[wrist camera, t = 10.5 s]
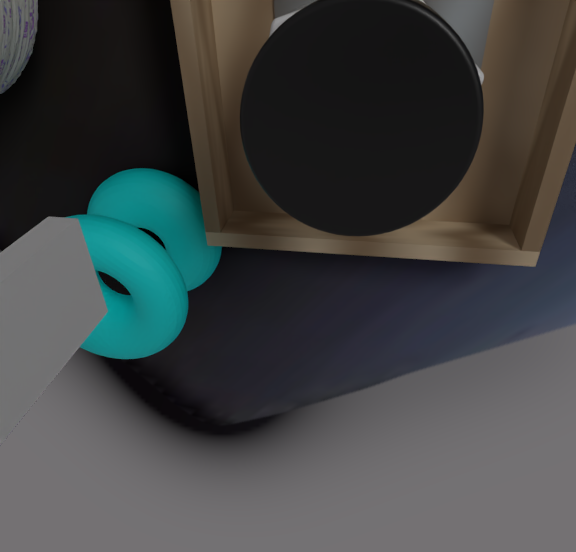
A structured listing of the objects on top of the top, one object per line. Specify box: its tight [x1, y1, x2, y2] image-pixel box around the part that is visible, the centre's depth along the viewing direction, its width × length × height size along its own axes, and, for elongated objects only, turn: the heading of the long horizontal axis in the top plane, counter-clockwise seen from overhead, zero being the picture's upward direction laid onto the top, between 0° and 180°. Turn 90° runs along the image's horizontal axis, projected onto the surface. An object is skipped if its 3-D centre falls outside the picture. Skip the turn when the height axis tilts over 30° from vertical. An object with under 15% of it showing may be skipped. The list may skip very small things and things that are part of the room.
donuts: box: [65, 168, 222, 359], centre depth 30 cm, size 10×10×10 cm
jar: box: [240, 0, 484, 236], centre depth 20 cm, size 9×8×12 cm
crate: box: [170, 0, 576, 267], centre depth 25 cm, size 20×18×4 cm
